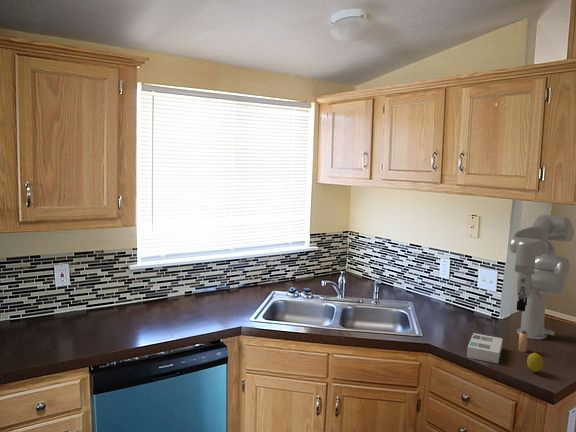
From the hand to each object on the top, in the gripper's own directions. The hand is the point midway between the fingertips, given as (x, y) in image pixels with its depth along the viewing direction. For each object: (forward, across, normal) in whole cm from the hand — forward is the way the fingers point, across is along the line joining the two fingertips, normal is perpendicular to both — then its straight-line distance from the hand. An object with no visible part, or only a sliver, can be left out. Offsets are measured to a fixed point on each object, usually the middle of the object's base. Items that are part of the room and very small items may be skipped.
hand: (521, 307), depth 198 cm
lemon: (+19, -21, -7) cm, 30 cm away
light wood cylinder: (+19, 0, -2) cm, 19 cm away
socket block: (+19, -12, +12) cm, 25 cm away
